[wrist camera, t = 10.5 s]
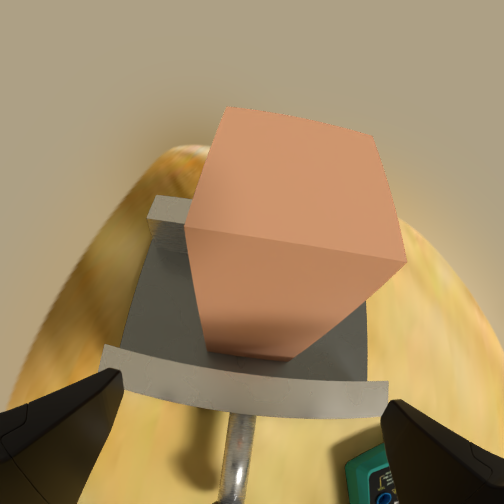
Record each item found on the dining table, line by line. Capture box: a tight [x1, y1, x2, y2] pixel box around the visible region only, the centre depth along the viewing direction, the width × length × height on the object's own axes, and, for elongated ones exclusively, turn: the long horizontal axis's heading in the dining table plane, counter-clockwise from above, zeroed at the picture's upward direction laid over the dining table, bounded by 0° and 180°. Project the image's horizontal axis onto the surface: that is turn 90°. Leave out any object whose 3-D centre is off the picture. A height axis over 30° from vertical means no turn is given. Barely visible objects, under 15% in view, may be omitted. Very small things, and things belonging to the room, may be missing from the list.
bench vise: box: [98, 195, 388, 504], centre depth 15 cm, size 20×16×4 cm
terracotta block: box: [184, 107, 407, 362], centre depth 12 cm, size 5×5×12 cm
